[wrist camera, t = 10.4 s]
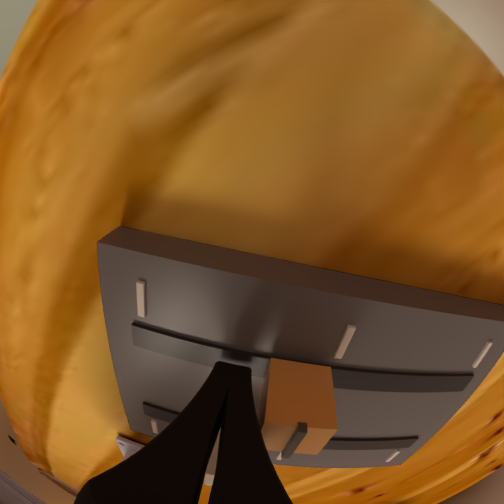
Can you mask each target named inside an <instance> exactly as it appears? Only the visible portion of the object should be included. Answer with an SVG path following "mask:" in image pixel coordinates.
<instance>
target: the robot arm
mask: <svg viewBox="0 0 504 504" xmlns="http://www.w3.org/2000/svg"><path fill="white" fill-rule="evenodd" d="M220 428H221V430H220ZM219 431H220V438H219V446H218V455H217V463H216V470H215V475H214V480H213V484H212V489H211V493H210V497H209V502H208V504H293V503H292V501H291V500H290V498H289V496H288V494H287V493H286V491H285V489H284V487H283V485H282V483H281V481H280V479H279V477H278V475H277V473H276V471H275V469H274V466H273V464H272V462H271V459H270V457H269V454H268V451H267V449H266V446H265V443H264V440H263V437H262V433H261V430H260V426H259V422H258V418H257V414H256V409H255V404H254V398H253V391H252V369H251V368H250V367H246V366H241V365H236V364H231V363H227V362H222V361H217V362H216V363H215V365H214V367H213V369H212V371H211V373H210V374H209V376H208V378H207V379H206V381H205V382H204V384H203V385H202V387H201V388H200V389H199V391H198V392H197V393H196V395H195V396H194V397H193V399H192V400H191V401H190V402H189V404H188V405H187V406H186V407H185V408H184V409H183V410H182V412H181V413H180V414H179V415H178V416H177V417H176V418H175V419H174V420H173V421H172V422H171V423H170V424H169V425H168V426H167V427H166V428H165V429H164V430H163V431H162V432H161V433H160V434H159V435H157V436H156V437H155V438H154V439H153V440H151V441H150V442H149V443H148V444H147V445H142V444H139V443H136V442H134V441H131V440H128V439H126V438H123V437H121V436H117V438H116V441H117V443H118V445H119V448H120V450H121V452H122V454H123V456H124V457H123V460H122V462H121V463H119V464H118V465H116V466H114V467H113V468H111V469H109V470H107V471H105V472H103V473H101V474H99V475H98V476H96V477H94V478H92V479H90V480H89V481H88V482H87V483H86V484H85V485H84V486H83V487H82V489H81V490H80V492H79V493H78V495H77V497H76V500H75V502H74V504H198V502H199V497H200V493H201V489H202V485H203V481H204V476H205V472H206V469H207V465H208V462H209V459H210V457H211V454H212V451H213V448H214V445H215V442H216V439H217V436H218V433H219ZM0 504H46V503H45V502H43V501H42V500H40V499H39V498H37V497H36V496H34V495H33V494H32V493H30V492H29V491H27V490H26V489H25V488H23V487H22V486H20V485H19V484H18V483H16V482H15V481H14V480H13V479H11V478H10V476H8V475H7V474H6V473H5V472H3V471H2V470H1V469H0Z"/></svg>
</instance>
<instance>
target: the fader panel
mask: <svg viewBox="0 0 504 504" xmlns="http://www.w3.org/2000/svg"><path fill="white" fill-rule="evenodd" d="M97 252H98V265H99V276H100V286H101V295H102V303H103V310H104V317H105V323H106V329H107V335H108V341H109V346H110V351H111V356H112V361H113V365H114V370H115V374H116V379H117V383H118V387H119V391H120V395H121V398H122V402H123V406H124V409H125V413H126V416H127V419H128V423H129V426H130V429H131V430H133V431H136V432H139V433H142V434H145V435H147V436H150V437H153V438H155V437H156V436H157V435H159V434H160V433H161V432H162V431H163V430H164V429H165V428H166V427H167V426H168V425H169V424H170V423H171V422H172V421H173V420H174V419H175V418H176V417H177V416H178V415H179V414H180V413H181V412H182V410H183V409H184V408H185V407H186V406H187V405H188V404H189V402H190V401H191V400H192V399H193V397H194V396H195V395H196V393H197V392H198V391H199V389H200V388H201V387H202V385H203V384H204V382H205V381H206V379H207V378H208V376H209V374H210V373H211V371H212V369H213V367H214V365H215V363H216V362H217V361H222V362H227V363H231V364H236V365H241V366H246V367H250V368H251V369H252V391H253V398H254V404H255V409H256V414H257V416H258V408H259V401H260V393H261V387H262V384H263V381H264V378H265V375H266V372H267V369H268V366H269V363H270V360H271V358H276V359H282V360H288V361H294V362H300V363H307V364H314V365H321V366H328V367H331V372H332V380H333V389H334V398H335V407H336V417H337V428H338V430H337V431H336V432H335V434H334V435H333V436H332V437H331V439H330V440H329V441H328V442H327V444H326V445H325V446H324V447H323V448H322V450H321V451H320V452H319V453H318V454H317V455H313V454H299V453H293V454H292V455H291V457H290V458H289V459H287V458H281V452H279V451H271V450H267V451H268V454H269V457H270V459H271V462H272V464H278V465H287V466H300V467H318V468H364V467H381V466H393V465H401V464H402V463H403V462H404V461H406V460H407V459H408V458H409V457H410V456H412V455H413V454H414V453H415V452H416V451H417V450H418V449H420V448H421V447H422V446H423V445H424V444H425V443H426V442H427V441H428V440H429V439H431V438H432V437H433V436H434V435H435V434H436V433H437V432H438V431H439V430H440V429H441V428H442V427H443V426H444V425H445V424H446V423H447V422H448V421H449V420H450V419H451V417H452V416H453V415H454V414H455V413H456V412H457V411H458V410H459V409H460V408H461V407H462V405H463V404H464V403H465V402H466V401H467V400H468V398H469V397H470V396H471V395H472V394H473V392H474V391H475V390H476V389H477V388H478V386H479V385H480V384H481V383H482V381H483V380H484V379H485V377H486V376H487V375H488V373H489V372H490V371H491V369H492V368H493V367H494V365H495V364H496V362H497V361H498V359H499V358H500V357H501V355H502V354H503V352H504V305H500V304H495V303H490V302H485V301H480V300H475V299H470V298H465V297H460V296H455V295H450V294H445V293H440V292H435V291H431V290H426V289H421V288H416V287H411V286H406V285H401V284H396V283H391V282H386V281H382V280H377V279H372V278H367V277H362V276H357V275H352V274H347V273H342V272H338V271H333V270H328V269H323V268H318V267H313V266H308V265H304V264H299V263H294V262H289V261H284V260H279V259H274V258H270V257H265V256H260V255H255V254H250V253H245V252H241V251H236V250H231V249H226V248H221V247H216V246H212V245H207V244H202V243H197V242H192V241H188V240H183V239H178V238H173V237H168V236H164V235H159V234H154V233H149V232H144V231H140V230H135V229H130V228H125V227H120V226H119V227H118V228H116V229H115V230H113V231H112V232H110V233H109V234H107V235H106V236H105V237H103V238H102V239H100V240H99V241H98V242H97Z"/></svg>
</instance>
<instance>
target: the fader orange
mask: <svg viewBox="0 0 504 504" xmlns="http://www.w3.org/2000/svg"><path fill="white" fill-rule="evenodd" d="M257 418H258V422H259V426H260V430H261V433H262V437H263V440H264V443H265V446H266V449H267V450H271V451H279V452H281V458H287V459H289V458H290V457H291V455H292V454H293V453H299V454H313V455H317V454H318V453H319V452H320V451H321V450H322V448H323V447H324V446H325V445H326V444H327V442H328V441H329V440H330V439H331V437H332V436H333V435H334V434H335V432H336V431H337V430H338V428H337V417H336V407H335V398H334V389H333V380H332V372H331V367H328V366H321V365H314V364H307V363H300V362H294V361H288V360H282V359H276V358H271V360H270V363H269V366H268V369H267V372H266V375H265V378H264V381H263V384H262V387H261V393H260V401H259V408H258V416H257Z"/></svg>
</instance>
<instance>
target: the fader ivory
mask: <svg viewBox="0 0 504 504" xmlns="http://www.w3.org/2000/svg"><path fill="white" fill-rule="evenodd" d="M220 430H221V428H220ZM219 438H220V431H219V433H218V436H217V439H216V442H215V445H214V448H213V451H212V454H211V457H210V459H209V462H208V466H207V470H206V474H205V480H204V485H208V486H212V484H213V480H214V475H215V470H216V463H217V455H218V446H219Z"/></svg>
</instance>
